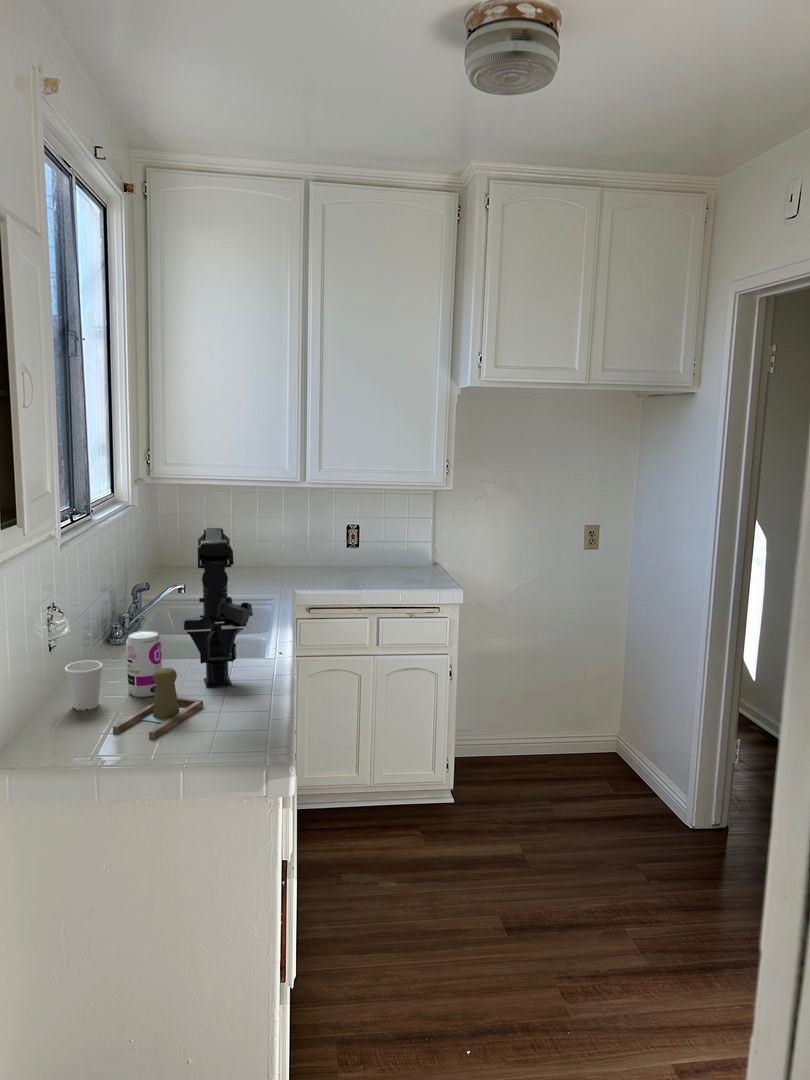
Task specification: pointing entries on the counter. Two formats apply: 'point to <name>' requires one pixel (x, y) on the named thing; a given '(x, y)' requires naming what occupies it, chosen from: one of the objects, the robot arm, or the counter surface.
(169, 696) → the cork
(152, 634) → the supplement can
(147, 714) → the rail track
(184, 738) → the counter surface
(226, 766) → the counter surface
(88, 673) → the dixie cup
